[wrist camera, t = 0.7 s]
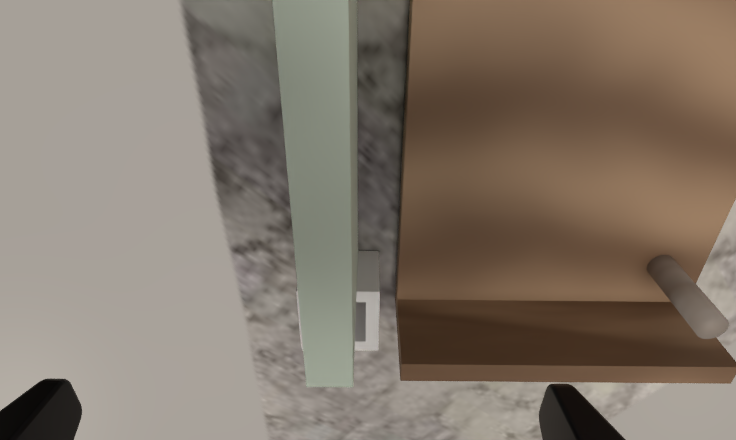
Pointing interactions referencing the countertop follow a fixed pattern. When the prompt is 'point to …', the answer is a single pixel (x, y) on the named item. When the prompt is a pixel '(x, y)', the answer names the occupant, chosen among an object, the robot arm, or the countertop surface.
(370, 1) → the countertop surface
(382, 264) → the countertop surface
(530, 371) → the cabinet floor
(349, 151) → the door
